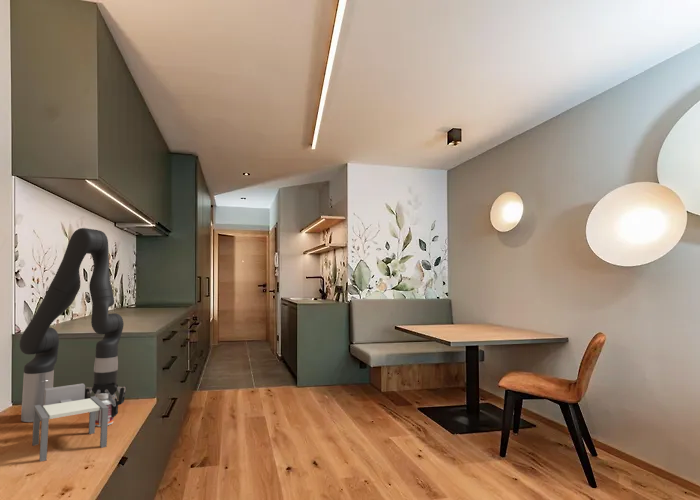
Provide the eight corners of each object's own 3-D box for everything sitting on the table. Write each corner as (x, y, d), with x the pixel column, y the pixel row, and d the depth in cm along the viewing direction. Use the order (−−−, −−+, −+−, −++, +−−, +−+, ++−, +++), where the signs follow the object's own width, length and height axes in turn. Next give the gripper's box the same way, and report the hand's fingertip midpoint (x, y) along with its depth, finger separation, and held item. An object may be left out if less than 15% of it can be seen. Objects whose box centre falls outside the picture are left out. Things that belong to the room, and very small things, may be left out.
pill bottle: (116, 421, 159) (117, 389, 160) (107, 427, 153) (109, 394, 153) (99, 421, 159) (100, 389, 159) (89, 427, 152) (91, 394, 153)
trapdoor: (40, 404, 141) (40, 389, 142) (85, 397, 150) (86, 382, 150) (49, 419, 127) (50, 401, 128) (99, 410, 136) (100, 394, 136)
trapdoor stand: (32, 444, 136) (34, 405, 137) (93, 431, 148) (95, 396, 149) (40, 461, 124) (42, 418, 125) (106, 446, 135) (108, 407, 136)
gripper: (130, 367, 161) (128, 412, 160) (89, 367, 160) (87, 414, 159) (123, 371, 154) (120, 419, 153) (79, 372, 152) (77, 420, 151)
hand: (103, 416), depth 156 cm, fingers closed on pill bottle, 6 cm apart
